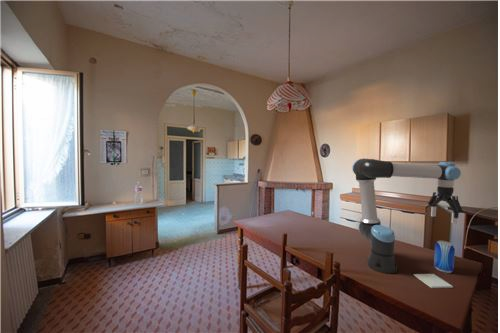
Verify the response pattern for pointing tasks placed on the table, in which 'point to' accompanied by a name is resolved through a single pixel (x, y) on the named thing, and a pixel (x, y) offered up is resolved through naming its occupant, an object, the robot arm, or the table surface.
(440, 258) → the beer can
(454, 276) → the table surface
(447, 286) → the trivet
